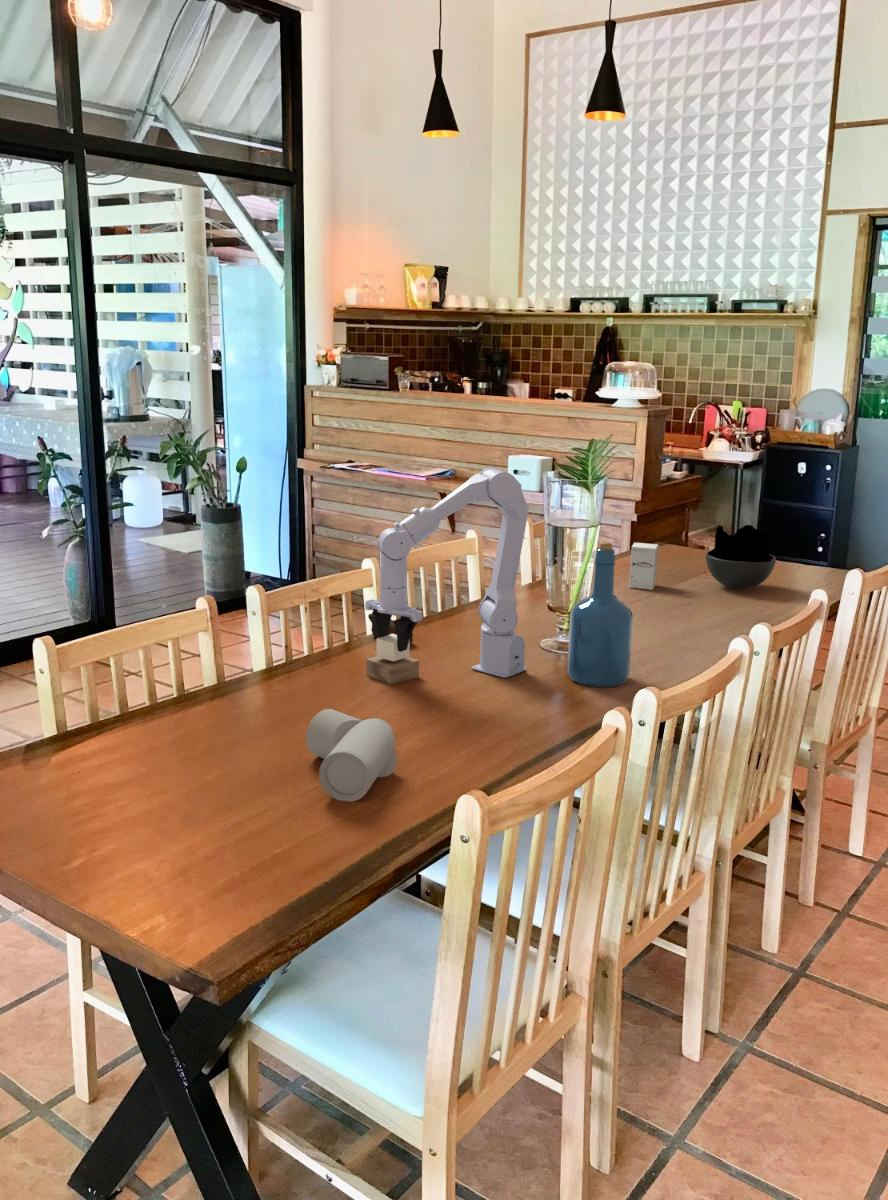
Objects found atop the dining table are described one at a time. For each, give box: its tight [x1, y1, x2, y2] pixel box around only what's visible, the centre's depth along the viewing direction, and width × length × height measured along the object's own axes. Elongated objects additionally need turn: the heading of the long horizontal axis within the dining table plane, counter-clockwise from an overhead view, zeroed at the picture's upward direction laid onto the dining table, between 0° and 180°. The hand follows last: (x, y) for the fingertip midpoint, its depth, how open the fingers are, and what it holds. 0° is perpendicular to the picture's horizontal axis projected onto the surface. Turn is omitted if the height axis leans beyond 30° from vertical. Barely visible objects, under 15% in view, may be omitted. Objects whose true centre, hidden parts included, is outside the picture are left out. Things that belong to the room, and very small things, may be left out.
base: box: [366, 655, 420, 685], centre depth 222 cm, size 8×8×4 cm
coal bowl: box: [705, 524, 777, 590], centre depth 305 cm, size 20×20×19 cm
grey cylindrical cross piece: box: [305, 708, 398, 803], centre depth 171 cm, size 18×11×20 cm
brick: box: [371, 619, 414, 645], centre depth 248 cm, size 11×4×5 cm, turn 45°
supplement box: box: [628, 542, 659, 591], centre depth 306 cm, size 7×7×13 cm
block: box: [375, 634, 411, 661], centre depth 221 cm, size 5×5×4 cm
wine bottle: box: [566, 541, 634, 688], centre depth 220 cm, size 14×13×30 cm
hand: (392, 647), depth 221 cm, fingers closed on block, 5 cm apart
